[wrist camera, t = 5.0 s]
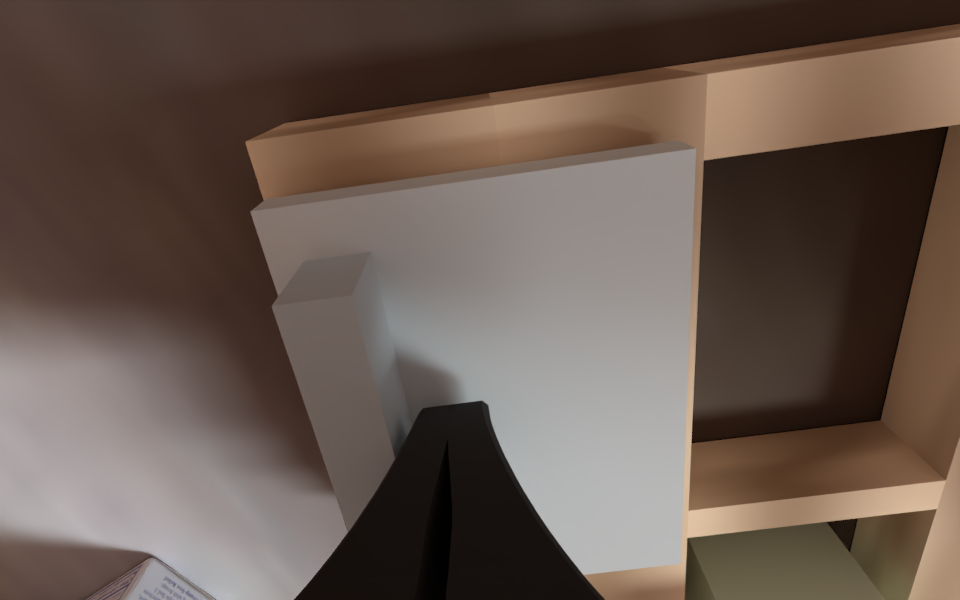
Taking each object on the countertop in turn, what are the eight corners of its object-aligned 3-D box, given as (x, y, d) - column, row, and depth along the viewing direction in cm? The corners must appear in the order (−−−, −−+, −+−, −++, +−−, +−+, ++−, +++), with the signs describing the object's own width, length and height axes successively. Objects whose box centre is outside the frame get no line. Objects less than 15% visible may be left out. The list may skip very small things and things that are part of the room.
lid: (678, 140, 10) (747, 172, 7) (669, 537, 14) (711, 637, 12) (265, 199, 10) (203, 248, 8) (382, 569, 14) (366, 674, 12)
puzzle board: (1158, -6, 11) (1323, -17, 9) (916, 670, 21) (967, 741, 19) (285, 123, 12) (244, 141, 10) (452, 720, 22) (451, 794, 20)
